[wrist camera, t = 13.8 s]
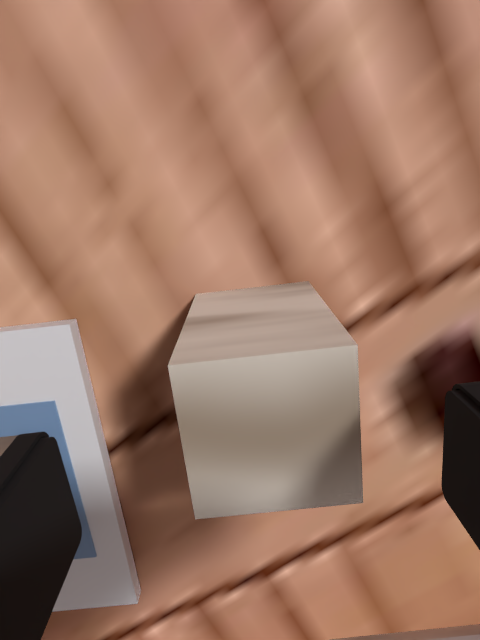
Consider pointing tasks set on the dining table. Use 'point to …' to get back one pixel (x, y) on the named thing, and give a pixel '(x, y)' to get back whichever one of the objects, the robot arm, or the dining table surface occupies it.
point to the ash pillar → (267, 402)
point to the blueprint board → (70, 453)
